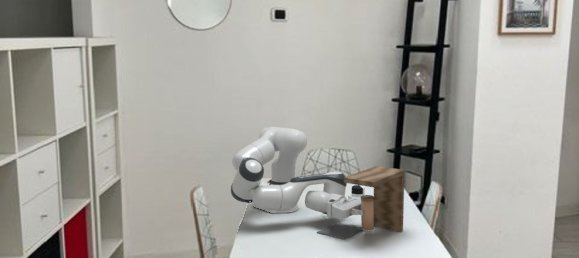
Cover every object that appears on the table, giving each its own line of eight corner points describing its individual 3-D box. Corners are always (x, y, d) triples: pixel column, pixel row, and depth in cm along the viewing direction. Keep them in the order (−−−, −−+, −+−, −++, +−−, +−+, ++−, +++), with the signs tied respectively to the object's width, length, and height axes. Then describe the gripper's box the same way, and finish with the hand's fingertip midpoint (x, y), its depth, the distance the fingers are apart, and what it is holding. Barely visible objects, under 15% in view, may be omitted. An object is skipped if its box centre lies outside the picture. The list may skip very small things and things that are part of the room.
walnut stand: (343, 241, 226) (343, 177, 222) (375, 225, 246) (376, 166, 242) (372, 248, 218) (373, 182, 214) (402, 230, 238) (404, 169, 234)
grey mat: (316, 233, 236) (316, 231, 236) (336, 223, 248) (336, 222, 248) (343, 239, 229) (343, 237, 228) (362, 229, 240) (362, 228, 240)
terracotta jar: (358, 229, 232) (358, 197, 230) (365, 225, 236) (364, 194, 234) (370, 231, 229) (369, 199, 226) (376, 227, 233) (376, 196, 231)
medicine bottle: (353, 213, 263) (353, 188, 261) (347, 209, 270) (348, 184, 268) (367, 212, 265) (368, 187, 263) (361, 208, 272) (362, 183, 270)
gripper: (350, 206, 248) (379, 212, 240) (325, 218, 232) (354, 224, 224) (351, 192, 247) (379, 198, 239) (325, 203, 231) (355, 209, 223)
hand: (367, 211), depth 231 cm, fingers closed on terracotta jar, 5 cm apart
